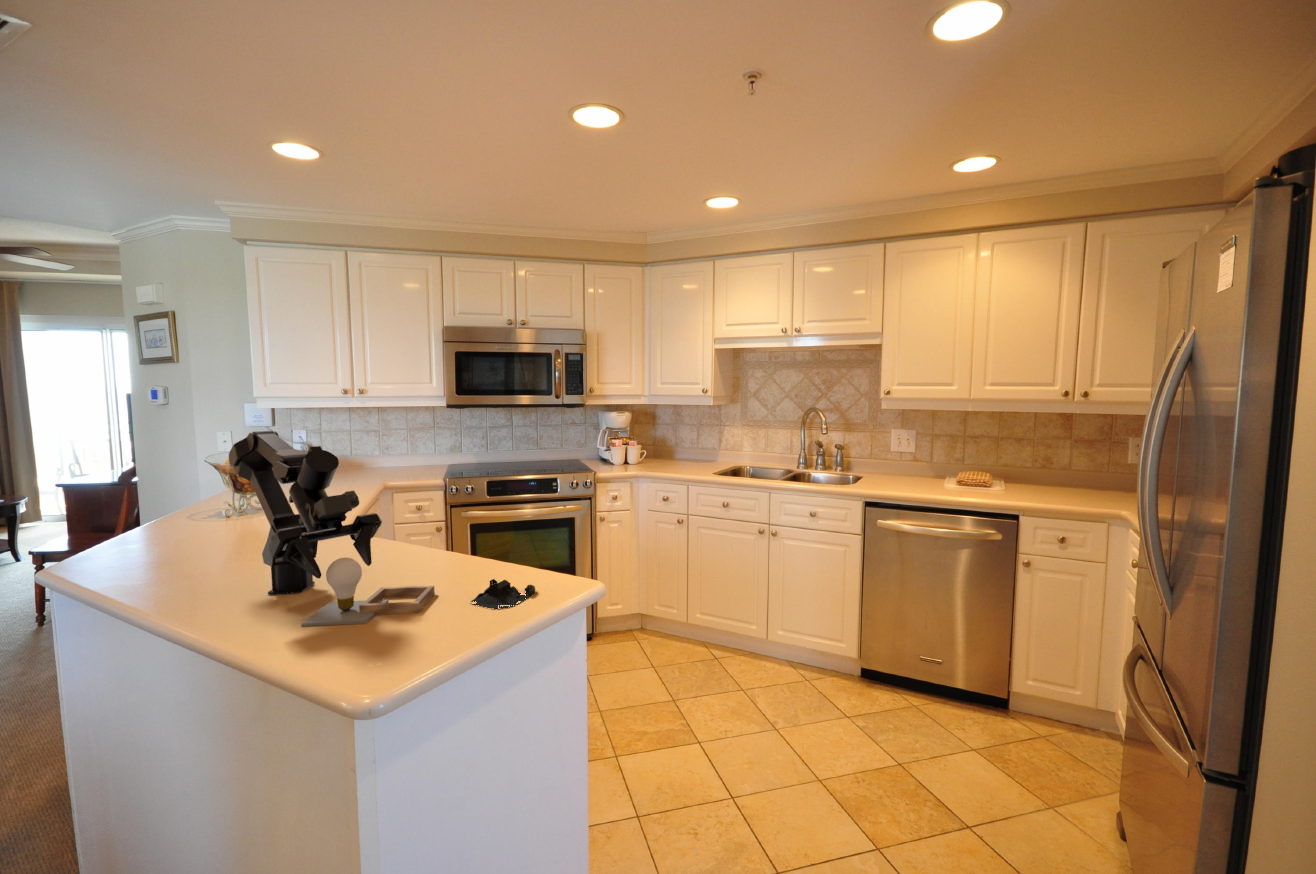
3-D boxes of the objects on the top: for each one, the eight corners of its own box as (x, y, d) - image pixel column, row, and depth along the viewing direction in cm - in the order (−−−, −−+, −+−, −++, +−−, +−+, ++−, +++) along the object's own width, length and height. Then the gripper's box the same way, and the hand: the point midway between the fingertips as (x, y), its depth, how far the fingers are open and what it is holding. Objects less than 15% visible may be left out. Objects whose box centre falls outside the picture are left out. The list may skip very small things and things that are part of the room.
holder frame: (359, 615, 110) (359, 605, 110) (381, 596, 120) (380, 587, 120) (418, 612, 111) (417, 603, 110) (434, 594, 121) (434, 585, 121)
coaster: (301, 626, 105) (301, 623, 105) (330, 604, 116) (330, 601, 116) (365, 623, 106) (365, 620, 106) (388, 602, 117) (388, 599, 117)
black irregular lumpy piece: (507, 613, 111) (506, 587, 111) (463, 608, 114) (462, 583, 114) (541, 593, 122) (540, 569, 122) (500, 588, 126) (499, 565, 125)
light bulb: (369, 609, 111) (366, 557, 111) (336, 619, 107) (333, 564, 106) (355, 603, 115) (352, 552, 114) (322, 611, 110) (319, 559, 110)
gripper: (272, 485, 104) (305, 556, 99) (374, 473, 120) (408, 534, 114) (255, 524, 109) (286, 594, 104) (356, 507, 125) (387, 567, 119)
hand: (345, 570), depth 110 cm, fingers open, 9 cm apart
